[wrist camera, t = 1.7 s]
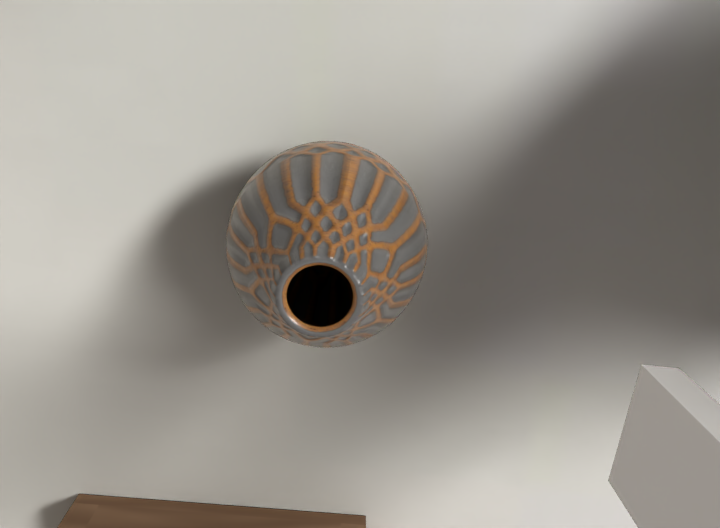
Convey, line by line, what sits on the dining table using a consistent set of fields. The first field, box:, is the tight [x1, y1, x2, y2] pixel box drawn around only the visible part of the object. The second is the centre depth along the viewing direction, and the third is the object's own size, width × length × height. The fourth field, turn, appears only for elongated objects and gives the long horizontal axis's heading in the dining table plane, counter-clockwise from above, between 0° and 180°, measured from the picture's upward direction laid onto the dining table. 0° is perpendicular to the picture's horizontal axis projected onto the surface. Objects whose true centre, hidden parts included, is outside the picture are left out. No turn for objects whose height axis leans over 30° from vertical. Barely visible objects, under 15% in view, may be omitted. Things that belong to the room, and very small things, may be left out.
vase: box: [226, 141, 427, 348], centre depth 19 cm, size 7×7×9 cm
